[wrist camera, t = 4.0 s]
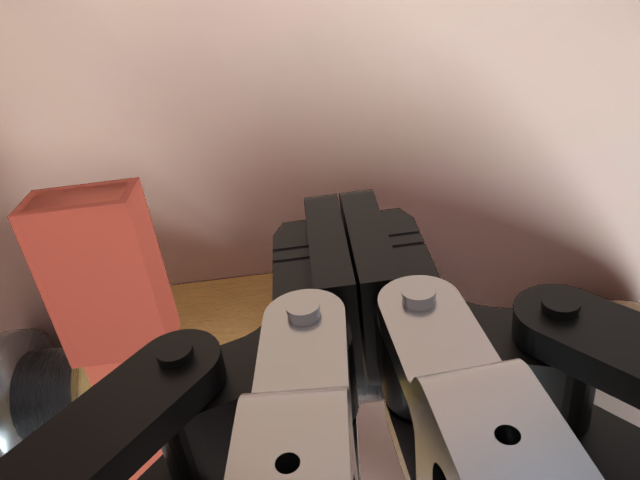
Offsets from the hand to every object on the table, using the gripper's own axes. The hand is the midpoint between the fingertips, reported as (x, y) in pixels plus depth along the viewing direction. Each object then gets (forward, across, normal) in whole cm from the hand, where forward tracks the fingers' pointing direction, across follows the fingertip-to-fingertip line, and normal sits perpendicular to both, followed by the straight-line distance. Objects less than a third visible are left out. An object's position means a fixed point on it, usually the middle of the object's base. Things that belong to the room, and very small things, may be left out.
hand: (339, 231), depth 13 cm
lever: (+2, +6, +6) cm, 9 cm away
